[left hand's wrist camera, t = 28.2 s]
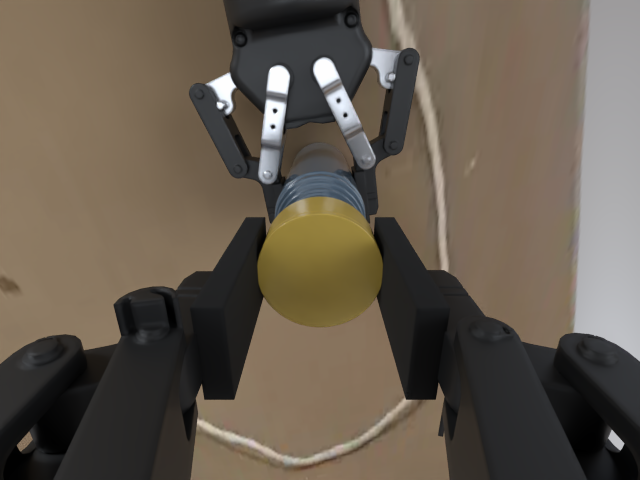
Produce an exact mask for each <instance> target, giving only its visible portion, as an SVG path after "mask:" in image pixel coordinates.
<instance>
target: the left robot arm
mask: <svg viewBox="0 0 640 480" xmlns="http://www.w3.org/2000/svg"><path fill="white" fill-rule="evenodd" d="M374 237H375V240H376V242H377V245H378V247H379V250H380V253H381V256H382V260H383V273H382V284H381V288H380V290H379V293H378V295H377V300H378V303H379V307H380V310H381V314H382V317H383V321H384V324H385V328H386V331H387V335H388V338H389V342H390V345H391V349H392V352H393V356H394V359H395V363H396V366H397V370H398V373H399V377H400V380H401V384H402V387H403V391H404V394H405V398H406V400H436V395H437V389H438V382H439V384H440V386H441V389H442V391H443V394H444V396H445V398H444V403H443V409H442V415H441V421H440V427H439V433H438V436H442V437H443V433H444V434H445V442H446V451H447V460H448V468H449V477H450V480H640V361H638V360H637V359H636V358H634V357H633V356H632V355H631V354H630V353H628V352H627V351H625V350H624V349H622V348H621V347H619V346H618V345H616V344H614V343H612V342H610V341H607V340H606V339H604V338H601V337H598V336H594V335H590V334H581V333H571V334H565V335H564V336H563V337H561V338H560V341H559V344H558V347H557V349H554V348H549V347H544V346H538V345H533V344H529V343H525V342H521V340H520V338H519V336H518V334H517V333H516V332H515V331H514V329H512V328H511V327H510V326H508V325H507V324H505V323H503V322H501V321H498V320H496V319H494V318H489V317H486V316H485V315H484V314H483V313H482V311H481V310H480V309H479V307H478V306H477V305H476V303H475V302H474V301H473V299H472V298H471V297H470V296H468V293H467V291H466V290H465V289H464V288H463V286H462V285H461V284H460V282H459V281H458V280H457V278H456V277H454V276H452V275H451V274H449V273H448V272H446V271H444V270H426V268H425V266H424V265H423V263H422V261H421V260H420V258H419V257H418V255H417V253H416V252H415V250H414V249H413V247H412V245H411V244H410V242H409V241H408V239H407V237H406V236H405V234H404V233H403V231H402V229H401V228H400V226H399V225H398V223H397V221H396V220H395V218H394V217H375V227H374ZM265 238H266V223H265V217H246V218H245V220H244V222H243V223H242V225H241V227H240V228H239V230H238V231H237V233H236V235H235V236H234V238H233V239H232V241H231V243H230V244H229V246H228V247H227V249H226V251H225V252H224V254H223V255H222V257H221V259H220V260H219V262H218V263H217V265H216V267H215V268H214V270H213V271H196V272H195V273H193V274H191V275H190V276H188V277H187V278H185V279H184V280H183V281H182V283H181V284H180V285H179V287H178V290H176V291H175V290H174V289H172V288H168V287H148V288H143V289H139V290H136V291H133V292H130V293H128V294H126V295H125V296H123V297H121V298H119V299H118V300H117V302H116V303H115V304H114V309H115V313H116V317H117V321H118V325H119V329H120V333H121V338H120V340H119V342H118V344H114V345H110V346H105V347H100V348H95V349H89V350H84V349H83V346H82V343H81V340H80V339H79V338H77V337H76V336H73V335H66V334H65V335H55V336H49V337H47V338H41V339H38V340H36V341H35V342H33V343H30V344H28V345H26V346H24V347H23V348H21V349H20V350H18V351H16V352H15V353H13V354H12V355H11V356H10V357H8V358H7V359H6V360H5V361H4V362H2V363H1V364H0V480H190V478H191V469H192V461H193V452H194V443H195V435H196V426H197V417H198V410H197V404H196V396H197V394H198V391H199V389H200V386H201V384H202V387H203V393H204V400H234V399H235V395H236V392H237V388H238V385H239V381H240V377H241V374H242V370H243V367H244V363H245V360H246V356H247V353H248V349H249V346H250V342H251V339H252V335H253V332H254V328H255V325H256V321H257V318H258V314H259V311H260V307H261V304H262V300H263V297H264V296H263V294H262V292H261V290H260V287H259V282H258V269H257V261H258V257H259V254H260V251H261V248H262V246H263V243H264V241H265ZM611 430H613V431H614V432H615V433H616V434H617V435H618V437H619V438H620V439H621V440H622V441H623V442H624V443H625V444H624V446H623V448H622V450H621V451H620V450H619V449H617V448H616V447H615V446H614V445H613V444H612V443H611V441H610V440H609V439H608V437H609V435H610V432H611ZM29 431H30V434H31V436H32V438H33V440H32V441H31V443H30V444H29V445H28V446H27V447H26V448H25V449H24V450H22V451H21V452H20V451H19V449H18V447H17V444H18V443H19V442H20V441H21V440H22V439H23V437H24V436H25V435H26V434H27V433H28V432H29Z"/></svg>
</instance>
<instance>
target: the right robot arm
mask: <svg viewBox="0 0 640 480" xmlns="http://www.w3.org/2000/svg"><path fill="white" fill-rule="evenodd" d="M223 2H224V6H225V11H226V16H227V20H228V25H229V30H230V34H231V39H232V44H233V55H232V60H231V64H230V72H229V73H227V74H225V75H223V76H221V77H219V78H217V79H215V80H213V81H211V82H209V83H207V84H201V83H196V84H194V85H192V86H191V88H190V91H189V95H190V98H191V100H192V102H193V104H194V106H195V108H196V110H197V112H198V114H199V115H200V117H201V119H202V121H203V123H204V125H205V127H206V129H207V131H208V133H209V134H210V136H211V138H212V140H213V142H214V144H215V146H216V148H217V150H218V152H219V154H220V155H221V157H222V159H223V161H224V163H225V165H226V167H227V169H228V171H229V173H230V174H231V175H232V176H233V177H235V178H248V179H253V180H256V181H258V182H259V183H260V184H261V186H262V188H263V192H264V197H265V202H266V206H267V211H268V216H269V220H270V223H271V224H272V222H273V221H274V219H275V207H276V203H277V200H278V197H279V195H280V192H281V190H282V188H283V185H284V183H285V181H286V179H285V177H282V175H281V165H282V158H283V152H284V145H285V141H286V135H287V129H292V128H298V127H300V126H302V125H304V124H306V123H308V122H314V123H329V122H335V120H336V122H337V124H338V126H339V129H340V131H341V133H342V135H343V137H344V139H345V141H346V143H347V145H348V147H349V149H350V151H351V153H352V155H353V160H354V166H352V167H351V169H352V176H353V178H354V180H355V183H356V185H357V187H358V190H359V192H360V195H361V197H362V199H363V202H364V206H365V215H366V220H367V222H368V223H370V217H369V215H373V214H376V213H377V210H378V198H377V187H376V177H375V168H376V166H377V164H378V163H379V162H380V161H381V160H383V159H385V158H387V157H388V156H390V155H397V154H399V153H400V152H401V151H402V149H403V146H404V140H405V135H406V130H407V124H408V119H409V113H410V108H411V103H412V97H413V92H414V87H415V81H416V76H417V71H418V65H419V54H418V52H417V51H416V50H415V49H413V48H407V49H404V50H402V51H395V50H387V49H378V48H372V45H371V43H370V41H369V39H368V38H367V36H366V34H365V32H364V30H363V27H362V24H361V18H360V7H359V0H223ZM369 67H372V68H374V69H375V71H376V73H377V82H378V84H379V86H380V87H382V88H384V89H386V95H385V101H384V107H383V113H382V120H381V126H380V132H379V136H378V137H377V138H375V139H373V140H371V141H368V139H367V137H366V135H365V133H364V130H363V128H362V125H361V123H360V121H359V118H358V116H357V114H356V112H355V110H354V108H353V106H352V103H351V101H352V100H353V98H354V96H355V94H356V92H357V90H358V88H359V86H360V84H361V82H362V80H363V78H364V76H365V74H366V72H367V70H368V68H369ZM238 89H239V90H240V91H241V92H242V93H243V94H244V95H245V96H246V97H247V98H248V99H249V100H250V101H251V102H252V103H253V104H254V105H255V106H256V107H257V108H258V109H259V110H260V111H261V112H262V113H263V114H264V121H263V129H262V137H261V155H260V158H257V157H252V156H251V154H250V152H249V150H248V148H247V146H246V144H245V142H244V140H243V138H242V136H241V134H240V132H239V130H238V128H237V126H236V124H235V122H234V120H233V118H232V115H231V114H232V113H234V111H235V109H236V102H235V98H234V96H235V92H236V91H237V90H238Z"/></svg>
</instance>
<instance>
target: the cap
mask: <svg viewBox="0 0 640 480" xmlns="http://www.w3.org/2000/svg"><path fill="white" fill-rule="evenodd" d="M257 269H258V282H259V287H260V290H261V292H262V294H263V296H264V298H265V299H266V300H267V302H268V303H269V304H270V306H271V307H272V308H273V309H274V310H275V311H277V312H278V313H279V314H280V315H282V316H283V317H285V318H287V319H288V320H290V321H292V322H295V323H298V324H301V325H305V326H311V327H330V326H335V325H339V324H342V323H345V322H348V321H350V320H352V319H354V318H355V317H357V316H359V315H360V314H361V313H363V312H364V311H365V310H366V309H367V308H368V307H369V306H370V305H371V304H372V302H373V301H374V300H375V298H376V296H377V295H378V293H379V290H380V288H381V284H382V273H383V260H382V256H381V253H380V250H379V247H378V245H377V242H376V240H375V237H374V235H373V232H372V230H371V227H370V225H369V223H368V222H367V220H366V219H365V218H364V216H363V215H362V214H361V213H360V212H359V211H358V210H357V209H355V208H354V207H353V206H351V205H349V204H348V203H346V202H344V201H341V200H338V199H335V198H330V197H310V198H306V199H302V200H299V201H297V202H295V203H293V204H291V205H289V206H288V207H286V208H285V209H284V210H283V211H281V212H280V213H279V214H278V216H277V217H276V218H275V219H274V221H273V222H272V224H271V226H270V228H269V231H268V233H267V236H266V238H265V241H264V243H263V246H262V248H261V251H260V254H259V257H258V261H257Z"/></svg>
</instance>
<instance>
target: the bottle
mask: <svg viewBox="0 0 640 480" xmlns="http://www.w3.org/2000/svg"><path fill="white" fill-rule="evenodd" d="M310 197H330V198H335V199H338V200H341V201H344V202H346V203H348V204H349V205H351V206H353V207H354V208H355V209H357V210H358V211H359V212H360V213H361V214H362V215H363V216H364V218H365V219H366V215H365V206H364V202H363V199H362V197H361V195H360V192H359V190H358V187H357V185H356V183H355V180H354V178H353V176H352V173H351V171H350V169H349V166H348V164H347V161H346V159H345V157H344V155H343V154H342V153H341V151H340V150H339V149H337V148H336V147H335V146H333V145H331V144H328V143H322V142H319V143H312V144H310V145H307V146H306V147H304V148H303V149H302V150H300V152H299V153H298V154H297V156H296V157H295V159H294V162H293V164H292V166H291V169H290V171H289V173H288V176H287V178H286V181H285V183H284V185H283V188H282V190H281V192H280V195H279V197H278V200H277V203H276V207H275V218H276V217H277V216H278V214H279V213H280V212H281V211H283V210H284V209H285V208H286V207H288V206H289V205H291V204H293V203H295V202H297V201H299V200H302V199H306V198H310Z"/></svg>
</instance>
